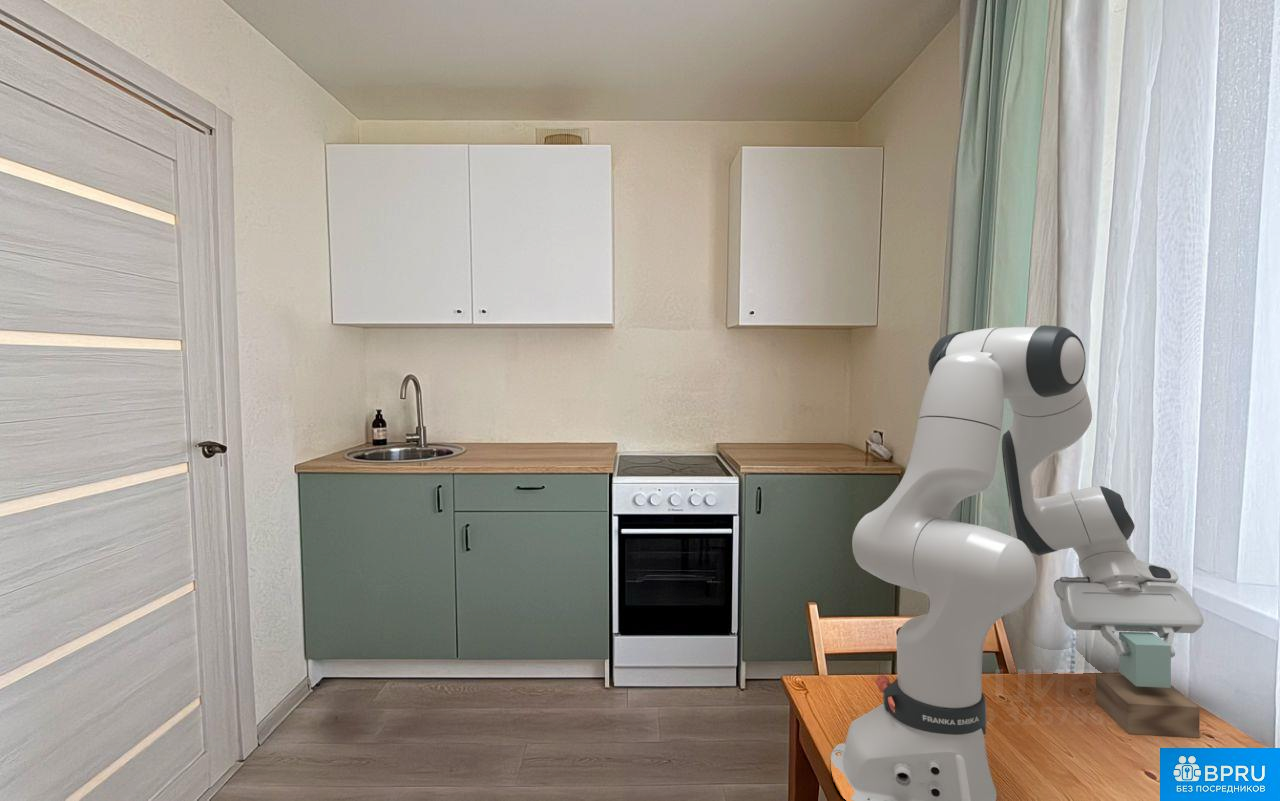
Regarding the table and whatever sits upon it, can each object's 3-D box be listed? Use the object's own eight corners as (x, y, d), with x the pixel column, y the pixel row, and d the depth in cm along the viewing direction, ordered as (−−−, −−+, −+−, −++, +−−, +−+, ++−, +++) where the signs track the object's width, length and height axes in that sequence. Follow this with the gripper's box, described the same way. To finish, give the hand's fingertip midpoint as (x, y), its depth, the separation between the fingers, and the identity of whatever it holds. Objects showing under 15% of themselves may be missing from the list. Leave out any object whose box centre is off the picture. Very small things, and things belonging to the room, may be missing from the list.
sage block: (1136, 686, 104) (1135, 644, 104) (1119, 671, 109) (1119, 631, 109) (1170, 687, 103) (1170, 645, 103) (1152, 673, 108) (1152, 632, 108)
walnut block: (1128, 733, 102) (1128, 703, 102) (1096, 701, 112) (1095, 673, 112) (1199, 737, 101) (1199, 707, 100) (1160, 704, 110) (1160, 676, 110)
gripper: (1055, 568, 114) (1083, 645, 105) (1185, 570, 110) (1226, 650, 101) (1045, 584, 119) (1070, 659, 110) (1169, 587, 115) (1207, 665, 106)
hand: (1146, 655), depth 105 cm, fingers closed on sage block, 5 cm apart
